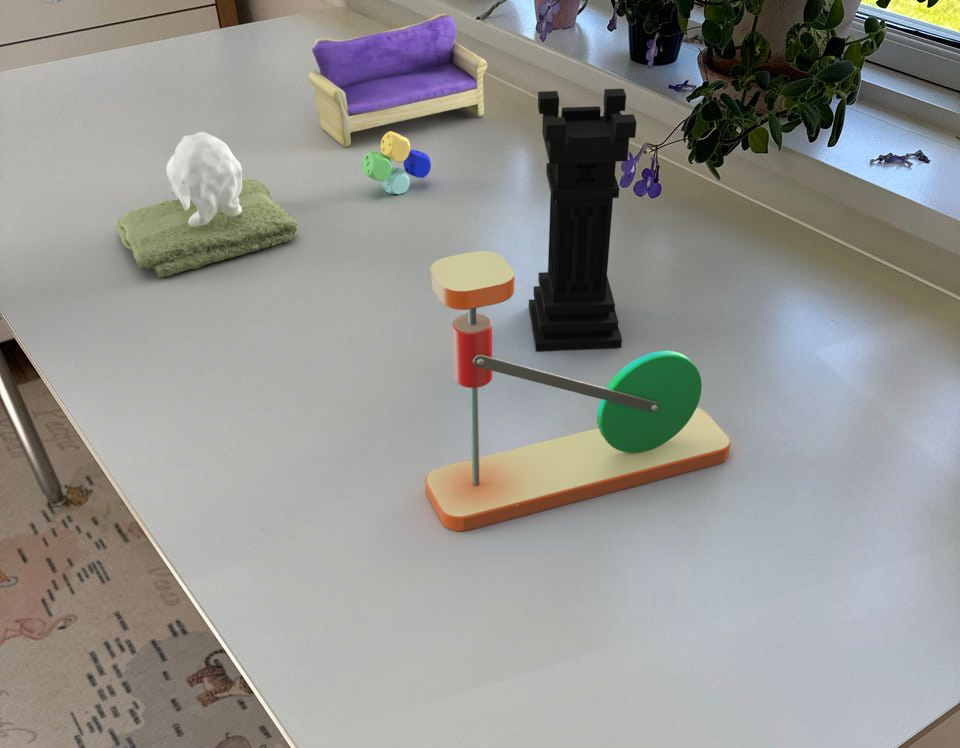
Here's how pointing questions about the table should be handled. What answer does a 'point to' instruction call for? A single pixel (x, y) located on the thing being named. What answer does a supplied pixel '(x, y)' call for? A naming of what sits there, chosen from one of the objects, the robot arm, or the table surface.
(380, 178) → the dice
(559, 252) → the chess piece
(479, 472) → the crank mechanism
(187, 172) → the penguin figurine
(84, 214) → the table surface
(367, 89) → the toy sofa
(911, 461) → the table surface
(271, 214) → the washcloth
